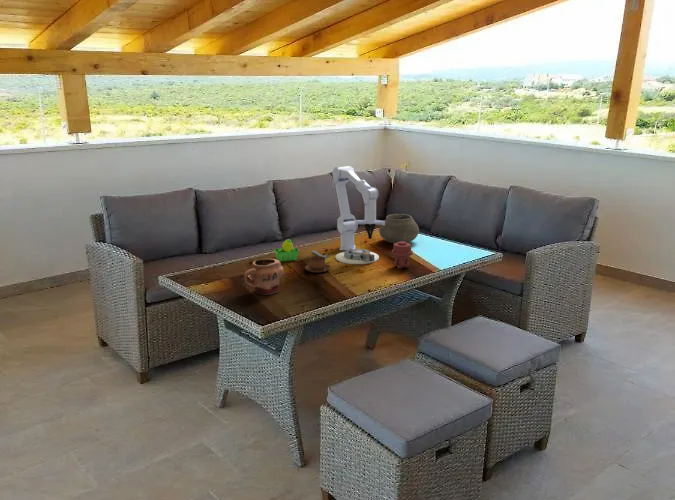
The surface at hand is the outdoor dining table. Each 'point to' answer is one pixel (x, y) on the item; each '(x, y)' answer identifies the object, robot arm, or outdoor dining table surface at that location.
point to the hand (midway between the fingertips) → (370, 238)
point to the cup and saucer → (317, 264)
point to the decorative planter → (265, 276)
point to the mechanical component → (402, 254)
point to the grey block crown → (363, 256)
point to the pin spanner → (320, 254)
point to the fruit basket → (287, 252)
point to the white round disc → (342, 259)
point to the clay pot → (399, 228)
